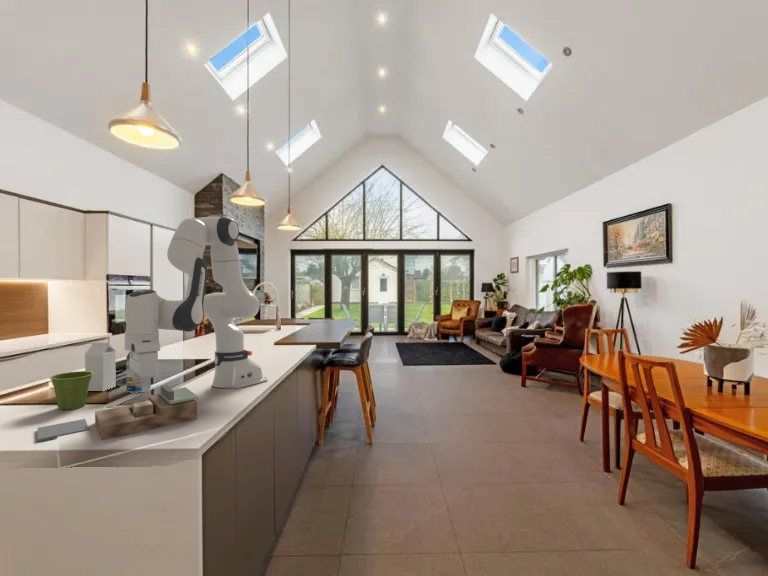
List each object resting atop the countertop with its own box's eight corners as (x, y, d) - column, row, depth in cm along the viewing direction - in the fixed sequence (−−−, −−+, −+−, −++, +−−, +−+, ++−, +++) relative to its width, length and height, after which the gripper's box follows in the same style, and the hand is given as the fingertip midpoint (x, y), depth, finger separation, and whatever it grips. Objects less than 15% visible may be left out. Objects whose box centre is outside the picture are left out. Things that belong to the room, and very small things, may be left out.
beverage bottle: (146, 392, 149) (146, 342, 148) (122, 394, 147) (121, 342, 146) (154, 387, 157) (153, 338, 157) (131, 388, 155) (130, 339, 155)
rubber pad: (85, 421, 118) (85, 418, 118) (88, 431, 110) (88, 428, 110) (37, 430, 111) (37, 427, 111) (37, 442, 103) (37, 439, 103)
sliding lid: (185, 389, 131) (185, 380, 131) (198, 398, 121) (198, 388, 121) (159, 394, 126) (159, 384, 126) (170, 404, 116) (170, 393, 115)
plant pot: (66, 414, 124) (66, 380, 124) (40, 411, 128) (40, 377, 127) (102, 403, 136) (102, 372, 136) (77, 400, 139) (77, 369, 139)
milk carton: (102, 392, 150) (102, 344, 149) (85, 392, 150) (84, 344, 149) (115, 387, 157) (115, 341, 156) (98, 387, 157) (98, 341, 157)
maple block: (149, 417, 120) (149, 400, 120) (153, 421, 117) (153, 404, 117) (133, 421, 117) (132, 403, 117) (135, 425, 114) (135, 407, 114)
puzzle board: (181, 407, 132) (181, 390, 132) (196, 420, 119) (196, 401, 119) (95, 424, 116) (95, 405, 116) (102, 442, 103) (102, 420, 103)
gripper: (124, 340, 122) (123, 383, 122) (136, 348, 107) (136, 397, 107) (146, 338, 126) (146, 380, 126) (161, 345, 111) (161, 393, 111)
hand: (141, 388), depth 116 cm, fingers open, 8 cm apart
